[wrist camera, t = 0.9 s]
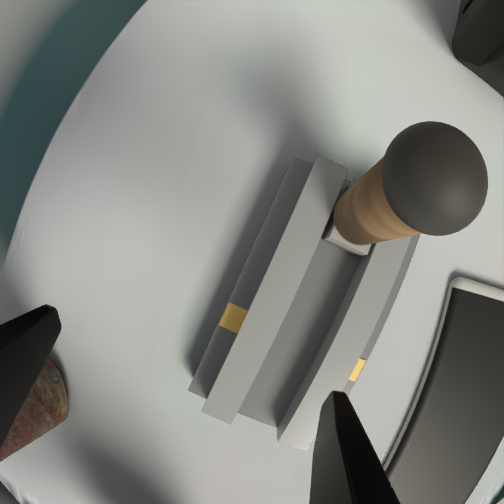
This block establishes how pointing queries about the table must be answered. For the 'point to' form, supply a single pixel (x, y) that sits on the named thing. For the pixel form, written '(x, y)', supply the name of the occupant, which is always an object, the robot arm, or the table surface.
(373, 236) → the lever
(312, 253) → the slider console
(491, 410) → the smartphone
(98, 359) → the table surface
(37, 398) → the candle
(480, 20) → the black machined bracket
